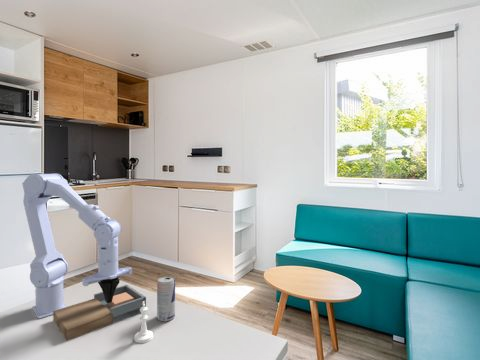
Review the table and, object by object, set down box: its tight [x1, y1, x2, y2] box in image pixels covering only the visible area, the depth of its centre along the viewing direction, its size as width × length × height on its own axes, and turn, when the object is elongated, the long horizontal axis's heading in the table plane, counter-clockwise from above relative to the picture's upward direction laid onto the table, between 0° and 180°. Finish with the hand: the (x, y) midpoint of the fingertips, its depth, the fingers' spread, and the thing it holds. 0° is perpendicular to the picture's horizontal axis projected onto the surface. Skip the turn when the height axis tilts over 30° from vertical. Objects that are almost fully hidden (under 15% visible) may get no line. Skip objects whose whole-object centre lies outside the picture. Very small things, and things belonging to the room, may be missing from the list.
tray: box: [93, 284, 147, 324], centre depth 92 cm, size 14×11×4 cm
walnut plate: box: [52, 298, 114, 342], centre depth 85 cm, size 14×12×3 cm
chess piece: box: [133, 301, 154, 344], centre depth 77 cm, size 5×5×10 cm
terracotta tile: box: [108, 292, 134, 307], centre depth 92 cm, size 6×6×2 cm
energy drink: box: [156, 275, 176, 322], centre depth 88 cm, size 5×5×12 cm
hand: (108, 301), depth 90 cm, fingers closed
